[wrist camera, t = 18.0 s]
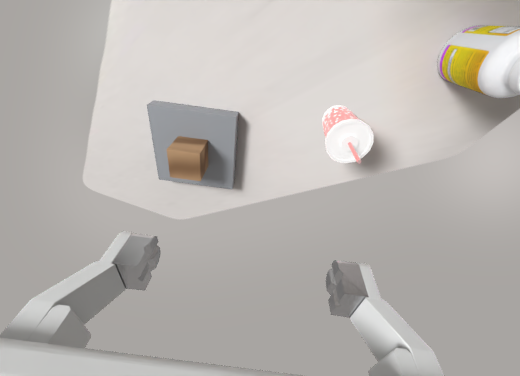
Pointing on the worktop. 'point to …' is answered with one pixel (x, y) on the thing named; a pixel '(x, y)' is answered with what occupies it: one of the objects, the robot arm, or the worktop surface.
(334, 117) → the beverage cup
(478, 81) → the supplement bottle
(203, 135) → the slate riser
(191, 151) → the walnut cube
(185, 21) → the worktop surface
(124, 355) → the robot arm
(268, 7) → the worktop surface
